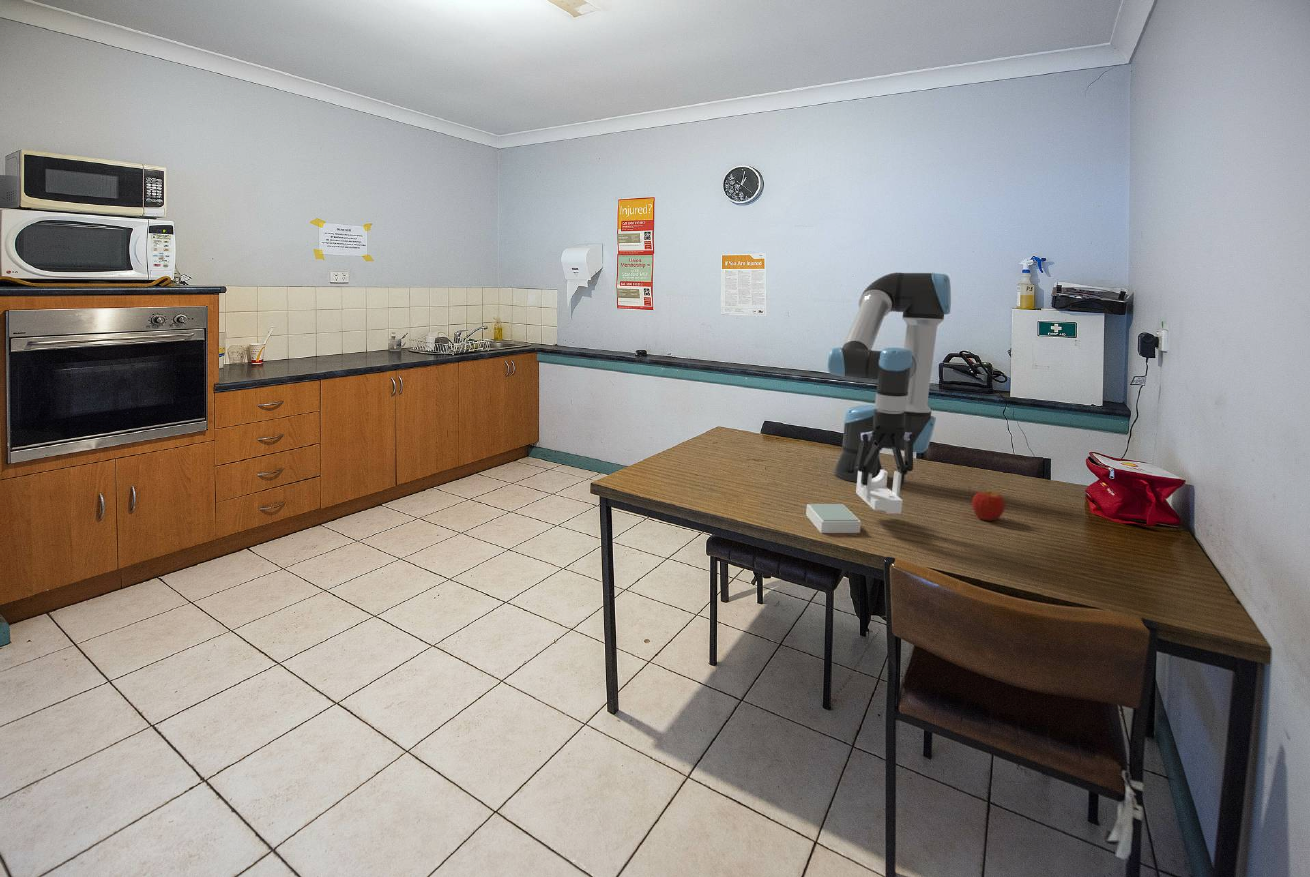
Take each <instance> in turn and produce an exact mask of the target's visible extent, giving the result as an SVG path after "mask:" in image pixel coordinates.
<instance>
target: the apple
mask: <svg viewBox="0 0 1310 877" xmlns="http://www.w3.org/2000/svg"><path fill="white" fill-rule="evenodd" d="M971 500H972V501H971V504H972V505H971V506H972V510H973V511H974V515H975V516H976V517H977V518H978V519H980V520H983V521H995V520H998V519H999V518H1000V517H1001V516H1002V515H1003V513H1004V511H1005V508H1006V502H1005V500H1004V498H1003V497H1002V495H1001V494H1000V493H996V492H993V491H979V492H977V493H976V494H974V496H973V497H972V499H971Z"/></svg>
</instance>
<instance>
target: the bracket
mask: <svg viewBox="0 0 1310 877" xmlns="http://www.w3.org/2000/svg"><path fill="white" fill-rule="evenodd" d="M888 473H889V472H888V471H886V470H885V469H882V470H880V473H879V474H878V476H876V477H875V478H872V480H871V490H870V498H866V497H865V496H864V495H863V489H864V485H863V484H861V476H862V472H860V471H858V477H857V482H856V489H855V490H856V491H855V493H856V494H857V495H858V496H859V497H860V499H862V500H863V501H864V502H865V503H866V504H867V505H868V506H869V507H870V508H871V509H873V511H884V512H885V513H887V514H890V515H891V514H902V510H903V509H902V508H903V503H904V502H903V501H904V500H903V499H902V498H900V496H899V497H898V496H897V495H896V494H894V493H893V492H892V490H891V489H889V488H888V487H887V483H888Z"/></svg>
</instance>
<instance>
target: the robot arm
mask: <svg viewBox="0 0 1310 877" xmlns="http://www.w3.org/2000/svg"><path fill="white" fill-rule="evenodd" d="M951 299H952V291H951V279H950V277H949V276H948V275H947V274H945V273H935V272H893V273H888V274H886V275H883V276H881V277H879V278H878V279H875V281H873V282H871V283H870V284H869V285H868V286H867V287H866V288H865V290H864V291H863V292H862V294H861V295H860V298H859V300H858V308H859V309H858V310H857V313H856V315H855V318H854V319H853V322H852V324H851V326H850V329H849V331H848V333H847V336H846V339H845V341H844V342H843V344H842V347H833V348H831V350H830V352H829V354H828V358H827V370H828V373H829V374H830V375H832V376H836V377H837V376H838V377H842V378H857V379H859V378H860V379H868V380H877V383H876V384H877V385H876V392H875V400H874V401H875V402H874V404H866V405H863V404H862V405H856V406H852V407H850V408H848V409H847V410H846V413H845V417H844V418H845V419H844V421H843V425H844V426H843V434H842V436H843V437H842V447H841V453H840V455H839V457H838V460H837V461H836V463H835V466H834V476H836V477H838V478H839V479H842V480H845V481H850V482H856V483H857V477H858V471H860V472H862V476H861V484H863V485H864V489H863V495H864V496H865V497H866V498H870V490H871V480H872V478H875V477H876V476H878V474H879V473H880V470H883V466H882V460H881V456H880V452H881V451H882V450H883V449H887V450H891V451H892V454H893V457H894V462H895V465H896V468H897V470H894V472H893V479H892V480H893V481H892V490H891V491H892V492H893V493H894V494H896V495H897V496H898V497H899V498H900V494H901V493H900V490H901V486H903V485H904V484H905V476H906V475H907V474H908V473H909V472H912V471H913V470H914V453H918V454H920V453H921V454H922V453H924V452H926V451H927V450H928V448H929V445H930V442H931V439H932V435H933V433H934V429H935V425H936V421H937V420H936V417H935V416H933V415H932V409H931V407H930V406H929V405H928V402H929V401H928V399H929V392H930V384H931V376H932V370H933V369H932V368H933V363H934V362H933V361H934V355H935V353H934V352H935V345H936V338H937V331H938V325H940V324H941V323H942V322H944V320H945V315H949V314H951V304H952V300H951ZM890 312H895V313H896V312H897V313H902V320H903V321H904V322H905V323H906V329H905V337H904V345H903V346H904V347H885V348H882V349H881V350H873V346H874V344H875V341H876V339H877V336H878V334H879V331H880V328H881V326H882V324H883V321H884V319H885V317H886V316H888V314H889V313H890ZM902 452H904V453H903V454H902ZM903 455H904V458H903Z"/></svg>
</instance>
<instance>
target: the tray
mask: <svg viewBox="0 0 1310 877" xmlns="http://www.w3.org/2000/svg"><path fill="white" fill-rule="evenodd" d="M805 516H807V518H808V519H809V520H810V521H811V523H812V524H813V525H814V527H816V529H817V530H818V531H819V532H820V534H860V533H861V525H862V524H861V523H862V522H861V520H860V519H859V518H858V517H857V516H856V515H855V514H854V513H853V512H852V511H850V509H848V508H847V506H846V505H844V504H843V503H808V504H806V513H805Z"/></svg>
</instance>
